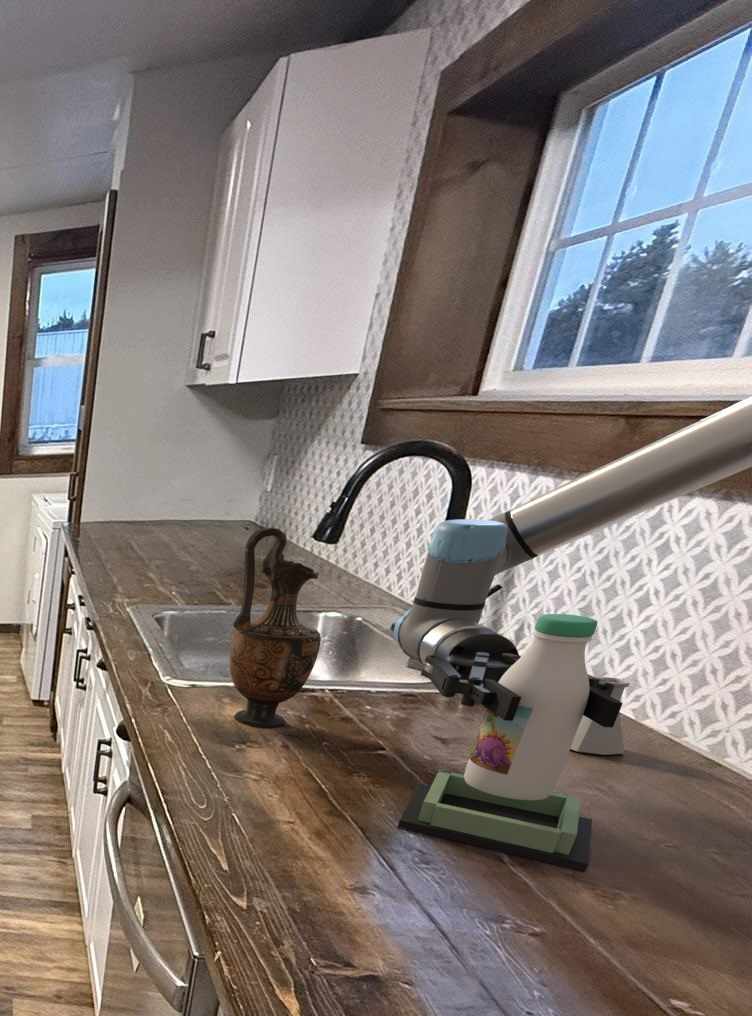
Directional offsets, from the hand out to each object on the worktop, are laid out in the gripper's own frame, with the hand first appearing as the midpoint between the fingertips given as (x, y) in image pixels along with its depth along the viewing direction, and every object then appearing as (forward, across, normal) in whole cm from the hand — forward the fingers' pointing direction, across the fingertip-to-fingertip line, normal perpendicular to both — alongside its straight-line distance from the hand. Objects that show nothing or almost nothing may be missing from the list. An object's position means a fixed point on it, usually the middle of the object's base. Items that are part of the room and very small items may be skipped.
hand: (562, 711), depth 87 cm
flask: (-37, -23, -16) cm, 47 cm away
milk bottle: (-5, 0, -11) cm, 12 cm away
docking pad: (-5, 0, -16) cm, 17 cm away
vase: (-40, +18, -16) cm, 46 cm away
